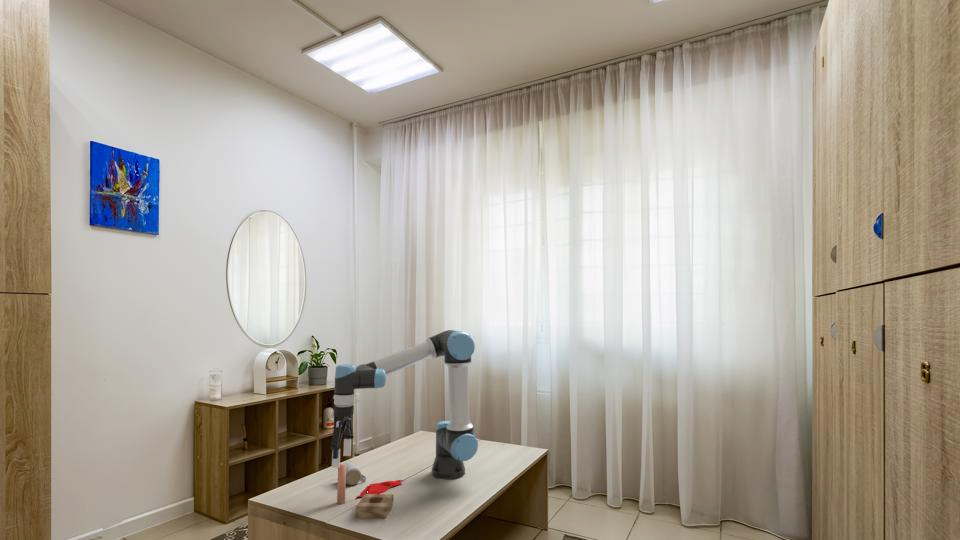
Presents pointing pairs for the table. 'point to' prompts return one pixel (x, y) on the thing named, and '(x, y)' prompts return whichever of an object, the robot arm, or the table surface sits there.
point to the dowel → (341, 484)
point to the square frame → (374, 506)
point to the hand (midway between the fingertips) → (341, 461)
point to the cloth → (379, 487)
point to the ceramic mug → (353, 474)
